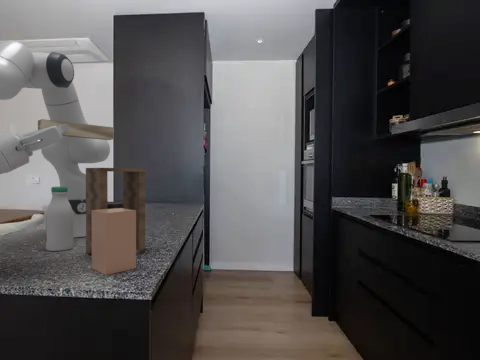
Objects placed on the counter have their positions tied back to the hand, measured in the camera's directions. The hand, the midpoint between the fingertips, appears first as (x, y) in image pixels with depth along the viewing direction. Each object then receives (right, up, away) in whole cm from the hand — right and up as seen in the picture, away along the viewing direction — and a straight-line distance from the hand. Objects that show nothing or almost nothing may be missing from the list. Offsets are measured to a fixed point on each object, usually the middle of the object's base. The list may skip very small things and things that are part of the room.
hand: (63, 127), depth 91 cm
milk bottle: (-10, -37, +17) cm, 42 cm away
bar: (+3, -2, +3) cm, 4 cm away
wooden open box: (+10, -37, +12) cm, 40 cm away
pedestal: (+15, -37, -4) cm, 40 cm away
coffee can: (+2, -36, +27) cm, 45 cm away
